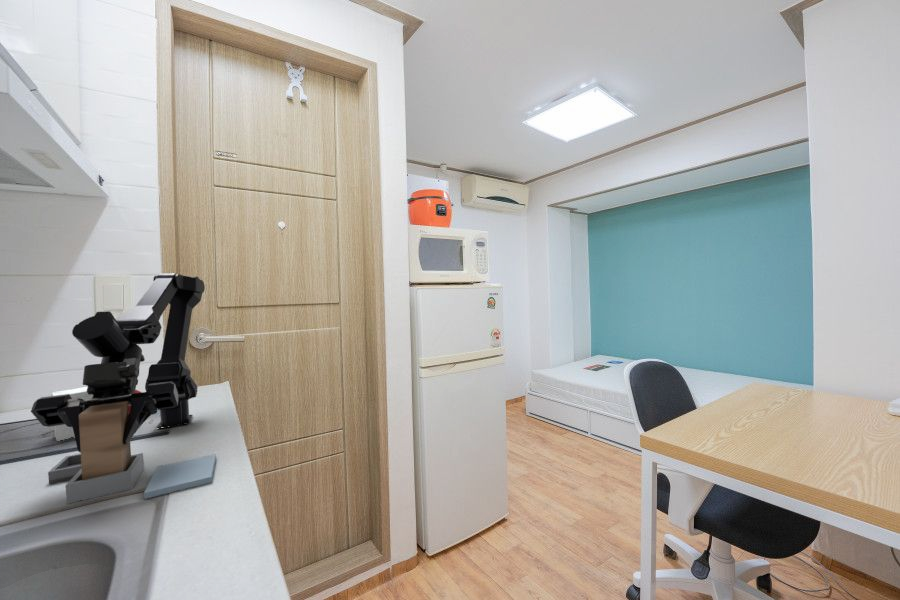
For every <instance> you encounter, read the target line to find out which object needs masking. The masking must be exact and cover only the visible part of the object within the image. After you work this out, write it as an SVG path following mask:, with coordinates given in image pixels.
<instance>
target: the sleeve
mask: <svg viewBox="0 0 900 600" xmlns="http://www.w3.org/2000/svg"><path fill="white" fill-rule="evenodd" d="M144 470H145V462H144V452H141V453H136V454H131V465H130V467H129V468H128V470H127V471H123V472H118V473H114V474H109V475H104V476H100V477H95V478H90V479H86V480H82V468H81V469H80V471H79V472H78V473H77V474H76V475H75V476H74V477H73V478H72V479H69V481H68V482H67V483H66V484H65V495H66V497H65V498H66V504H67V505H68V504H73V503H76V502H77V501H78V502H81V501H80V500H82V501H86V500H90V499H95V498H98V497H102V496H108V495H111V494H115V493H120V492H124V491H129V490H133V489H134V486H136V485H135V484H136V483H137V482H138V480H139V478H140V476H141V474H142V473H143V472H144Z"/></svg>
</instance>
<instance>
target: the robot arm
mask: <svg viewBox="0 0 900 600" xmlns="http://www.w3.org/2000/svg"><path fill="white" fill-rule="evenodd" d="M205 287H206V286H205V282H204V281H203V280H202V279H201V278H199V276H188V275H183V274H178V273H177V272H176V273H175V272H174V273H173V272H172V273H170V272H169V273H167V272H166V273H158V274H155V275H154V277H153V281H152V283H151V285H150V286H149V287H148V289H147V290H146V291H145V292H144V294H143V295H142V296H141V298H140V300H139V301H138V302H137V304H136V305H135V306H133V308H131V309H129V310H127V311H124V312H122V313H120V314H119V315H118V316H117V317H115V316H114V314H113V313H112V312H111V311H107V310H106V311H97V312H96V313H95V314H94V315H93V316H90V317H87V318H85V319H82V321H80V322H79V323H78V324H75V325H74V326H73V328H72V330H71V333H72V336H73V337H74V338H75V339H76V340H77V341H78V342H79V343H80V344H81V345H82V346H83V348H85V349H86V350H87V351H88V352H89V353H90V354H91V355H93V356H94V357H97V358H101V360H100V363H94V364H87V365H84V369H83V375H82V385H83V386H86V387H88V388H87V393H88V394H89V395H91V394H93V396H92V399H85V400H83V399H80V398H76V399H72V398H71V396H70V395H69V394H65V395H57V396H52V395H50V396H41V397H40V398H37V399H36V400H35V401H34V402H33V404H32V407H31V410H30V413H31V414H32V415H33V416H34V417H35V418H36V420H37V421H38V422H39V423H40V424H41V425H42V427H54V426H57V425H64V424H66V426H67V427H72V428H73V432H74V436H75V438H74V439H75V443H76V447H77V451H78V452H79V454H81V449H80V431H79V414H80V413H82V412H83V411H84V410H86V409H87V408H89V407H90V406H95V405H103V404H110V403H118V402H126V401H128V405H131V406H130V413H129V417H128V420H127V424H126V427H125V431H124V435H123V444H124V445H125V444H127V443H128V442H129V441H130V442H131V439H132V438H133V437H134V435H135V434H136V432H138V430H139V429H140V428H141V426H143V424H144V423H145V422H146V421H147V420H148V419H149V417H151V416H152V415H156V414H157V413H158V411H159V414H160V416H159V417H160V421H159V423H158V424H157V426H156V429H157V428H161V427H167V428H173V427H177V426H183V425H188V424H190V423H191V421H192V419H193V416H194V415H193V414H190V406H189V404H190V403H189V400H190V399H194V398H196V397H197V395H198V385H197V383H196V382H195V381H194V380H193V378H192V376H191V371H192V370H191V369H190V367H189V366H188V364H187V363H186V361H185V360H186V354H187V352H186V351H187V347H188V346H187V345H188V341H189V334H190V329H191V328H190V326H191V321H192V320H191V319H192V313H193V309H194V308H195V307H196V306H197V305H198V304H199V303H200V302H201V301H202V296H203V294H204V293H205V289H206V288H205ZM168 306H169V310H168V316H167V322H166V326H165V334H164V338H163V339H164V340H163V345H162V351H161V357H160V359H159V361H158V362H156V363H153V364H150V366H149V368H148V372H147V378H146V379H145V385H144V387H145V388H144V389H145V391H144V392H142V391H141V392H142V393H135V390H137V389H136V388H137V386H138V384H139V379H138V378H139V376H140V365H141V363H142V362H145V359H146V358H145V356H144V355H143V350H142V348H141V347H140V346H139V345H148V344H149V345H150V344H154V343H155V342H156V341H157V339H158V338H159V336H160V334H161V330H162V325H161V323H160V319H161V316H162V315H163V313H164V311H165V310H166V309H167V307H168ZM168 426H170V427H168Z"/></svg>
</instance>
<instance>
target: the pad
mask: <svg viewBox="0 0 900 600" xmlns="http://www.w3.org/2000/svg"><path fill="white" fill-rule="evenodd" d="M216 461H217V454H216V453H214V454H213V453H212V454H209V455H204V456H200V457H194V458H191V459H185V460H181V461H176V462H171V463H167V464H162V465H158V466H156V468H155V471H154V473H153V475H152V476H151V477H150V478H151V479H150V480H149V481H148V482H149V483H147V486H146V488H145V490H144V491H143V499H145V500H146V499H151V498H154V497H157V496H158V497H159V496H163V495H166V494H169V493H174V491H175V492H178V491H177V490H179V491H182V490H181V489H183V490H186V489H185V488H187V489H190V488H189V487H191V488H194V486H195V487H198V486H199V487H200V486H202V485H207V484H211V483H213V482H212V481H213V476H214V472H215V466H216Z"/></svg>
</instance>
